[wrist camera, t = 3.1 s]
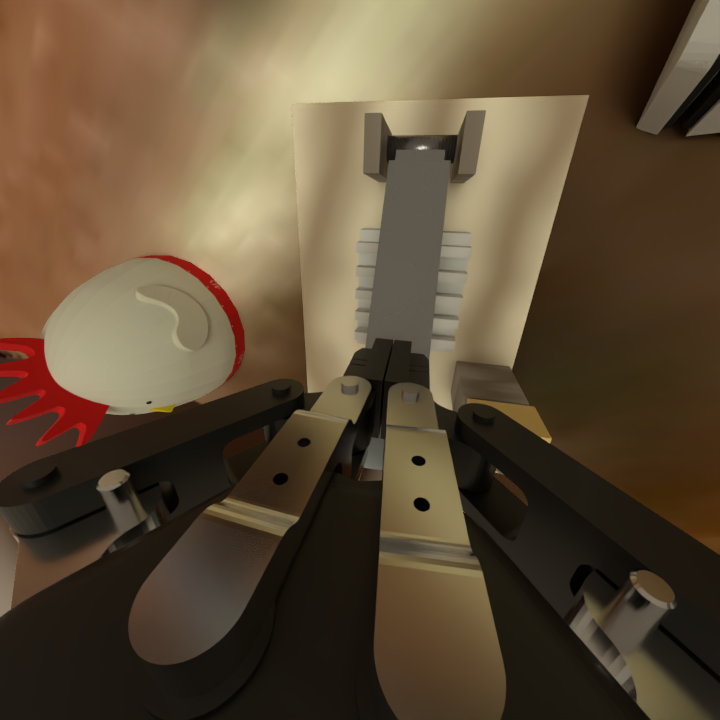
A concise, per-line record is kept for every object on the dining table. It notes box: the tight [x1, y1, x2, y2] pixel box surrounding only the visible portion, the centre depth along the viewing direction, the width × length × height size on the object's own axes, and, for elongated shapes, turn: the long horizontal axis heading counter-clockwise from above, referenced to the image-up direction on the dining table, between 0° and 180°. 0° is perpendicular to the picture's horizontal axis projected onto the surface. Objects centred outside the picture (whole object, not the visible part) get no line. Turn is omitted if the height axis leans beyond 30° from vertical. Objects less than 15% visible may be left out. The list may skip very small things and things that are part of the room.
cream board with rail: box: [291, 95, 589, 412], centre depth 21 cm, size 17×22×8 cm
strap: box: [364, 135, 458, 471], centre depth 15 cm, size 3×17×1 cm
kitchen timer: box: [0, 256, 245, 447], centre depth 24 cm, size 14×14×15 cm
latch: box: [466, 398, 552, 475], centre depth 18 cm, size 4×3×4 cm
